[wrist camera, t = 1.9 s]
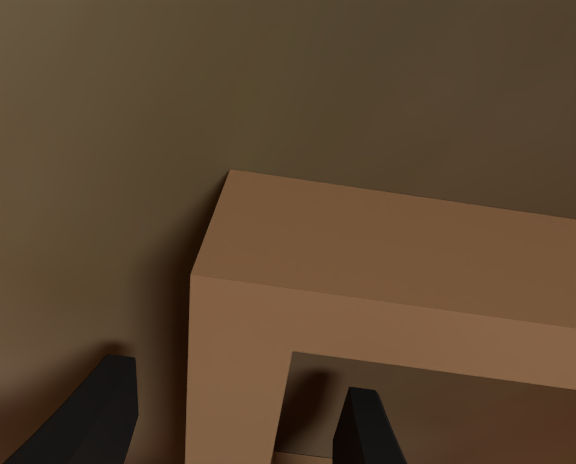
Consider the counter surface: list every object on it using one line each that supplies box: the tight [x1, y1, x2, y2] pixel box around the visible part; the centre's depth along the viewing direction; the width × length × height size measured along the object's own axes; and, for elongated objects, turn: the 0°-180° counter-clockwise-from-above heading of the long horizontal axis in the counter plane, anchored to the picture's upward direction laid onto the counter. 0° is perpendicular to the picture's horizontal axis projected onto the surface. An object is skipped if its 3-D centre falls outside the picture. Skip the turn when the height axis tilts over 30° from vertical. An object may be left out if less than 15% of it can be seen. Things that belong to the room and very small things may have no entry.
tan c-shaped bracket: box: [185, 169, 576, 464], centre depth 11 cm, size 8×10×4 cm
